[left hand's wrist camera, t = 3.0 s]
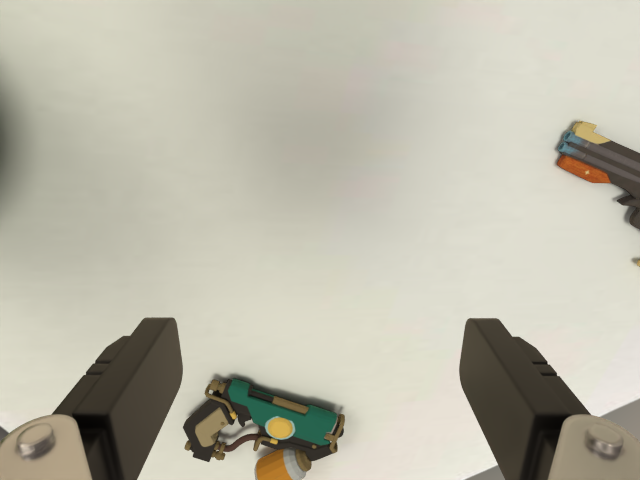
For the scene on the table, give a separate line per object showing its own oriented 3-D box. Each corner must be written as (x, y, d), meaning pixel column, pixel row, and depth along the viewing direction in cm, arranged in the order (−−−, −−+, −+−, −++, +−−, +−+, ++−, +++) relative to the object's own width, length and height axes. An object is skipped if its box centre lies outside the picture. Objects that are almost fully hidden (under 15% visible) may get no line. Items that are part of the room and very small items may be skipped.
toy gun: (690, 291, 41) (776, 204, 36) (519, 219, 39) (586, 120, 35) (672, 277, 43) (750, 194, 39) (510, 208, 42) (572, 115, 38)
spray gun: (174, 424, 51) (241, 338, 47) (285, 490, 53) (356, 413, 49) (160, 451, 47) (232, 359, 43) (281, 521, 49) (359, 440, 45)
